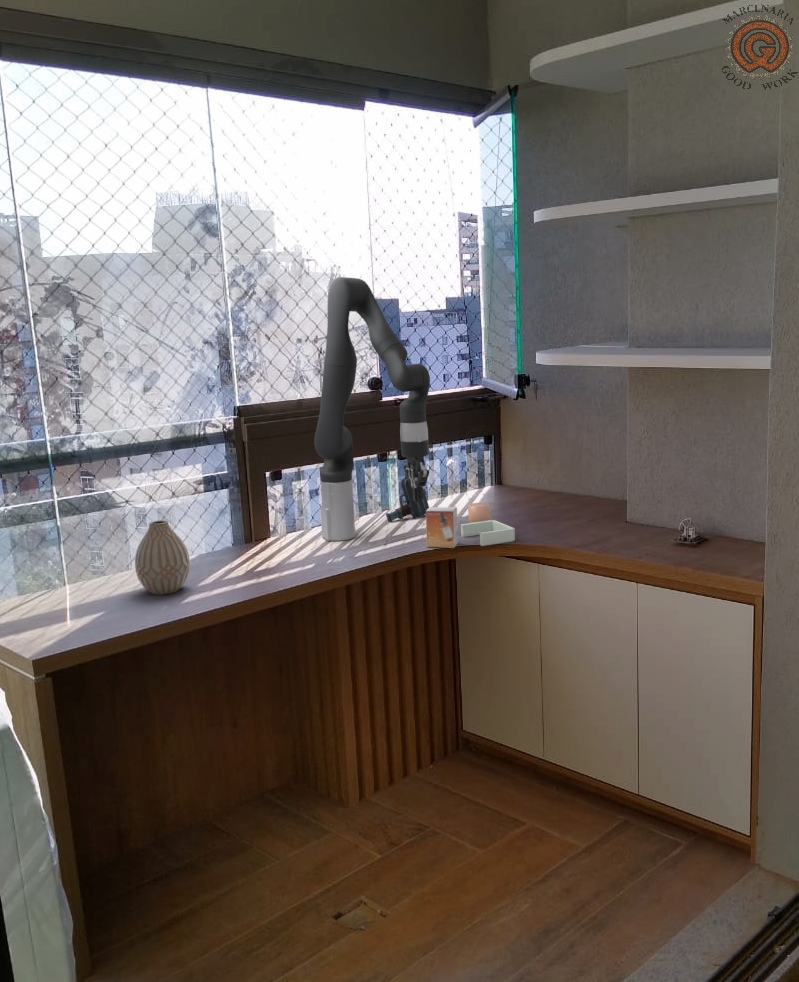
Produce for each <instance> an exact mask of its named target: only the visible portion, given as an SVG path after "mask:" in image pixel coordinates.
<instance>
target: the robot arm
mask: <svg viewBox="0 0 799 982" xmlns="http://www.w3.org/2000/svg"><path fill="white" fill-rule="evenodd" d="M371 289H372V288H370V286H369V285H368V283H367V282H366V281H365V280H364V279H361V278H359V277H358V278H357V277H347V276H345V277H344V276H339V277H338V276H337V277H335V278H334V279H333V280H332V281H331V282H330V284H329V288H328V291H327V292H328V293H327V326H326V327H327V328H326V330H327V331H326V344H325V353H324V354H325V355H324V360H323V361H324V362H323V363H324V364H323V369H322V370H323V373H322V383H321V385H322V387H321V395H320V409H319V415H318V419H317V425H316V430H315V434H314V439H313V440H314V443H313V444H314V449H315V451H316V453H317V454H318V456H319V457H320V458H321V459H324V460H323V466H322V468H321V469H320V473H319V476H320V494H321V505H320V506H319V507H320V509H319V510H320V511H319V512H320V523H321V524H320V525H321V536H322V537H321V538H323V539H325V541H327V542H332V541H334V542H337V541H339V542H341V541H348V540H350V539H354V538H356V525H355V522H356V520H355V509H354V508H355V507H354V506H355V505H354V490H353V471H354V466H355V465H354V463H355V462H354V441H353V435H352V433H351V432H350V430H349V428H348V427H346V426H344V420H345V419H344V418H345V414H346V413H345V412H346V409H347V405H348V403H349V400H350V398H351V396H352V392H353V389H354V386H355V382H356V376H357V366H358V363H357V362H358V360H357V354H356V350H355V347H354V345H353V342H352V340H351V337H350V331H349V323H350V322H349V320H350V312H355V313H356V314H358V315H359V316H360V317H361V318H362V319H363V321H364V322H365V324H366V326H367V328H368V334H369V341H370V344H371V346H372V347H373V349H374V351H375V352H376V354H377V355H378V356H379V358H380V360H381V361H382V362H383V363H384V366H385V368H386V371H387V374H388V377H389V380H390V382H391V384H392V386H393V387H394V388H395V389H396V390H398V391H399V392H402V393H407V392H409V393H408V397H407V399H405V400H403V401H402V402H401V403H400V404H399V419H400V426H399V427H400V429H399V433H400V449H401V456H402V457H403V458H406V464H404V465H403V470H404V473H405V474H406V476H405V477H407V480H408V483H409V484H411V487H412V488H413V500H414V501H416V502H419V501H422V500H423V497H422V487H423V488H424V487H426V485H427V482H428V479H429V475H430V470H429V469H426V462H425V457H427V456H429V454H430V447H429V429H428V428H429V427H428V424H427V410H426V406H427V402H428V401H427V400H428V396H429V390H430V384H431V377H430V371H429V370H428V368H427V367H426V366H425V365H423V364H421V363H414V364H412V363H411V364H406V363H405V361H406V360H407V358H408V351H407V349H406V347H405V346H404V344H403V343H402V342H401V340H400V339H399V337H398V336H397V335H396V333H395V332H394V331H393V329H392V327H391V326H390V324H389V323H388V321H387V319H386V317H385V316H384V315H385V314H383V311H382V310H381V308H380V305H379V304H378V302H377V300H376V298H375V295H374V292H373V291H372V290H371ZM405 474H404V475H405Z"/></svg>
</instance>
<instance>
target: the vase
mask: <svg viewBox="0 0 799 982" xmlns="http://www.w3.org/2000/svg"><path fill="white" fill-rule="evenodd" d="M134 569H135V574H136V577H137V580H138V581H139V583H140V584H141V585H142V587H144V589H145V590H147V591H149V593H151V594H153V595H157V596H158V595H159V596H160V595H161V596H162V595H169V594H174V593H176V592H178V591H179V590H180V589H181V588H182V587H183V586H184V585H185V583H186V582H187V579H188V578H189V574H190V569H191V560H190V556H189V550H188V548H187V546H186V544H185V543H184V541H183V540H182V538H180V536H179V535H178V534H177V533H176V532H175V531H174V530H173V529H172V528H171V526H170V524H169V521H168V520H166V519H165V520H164V519H161V520H160V519H159V520H153V521H150V522H149V523H148V528H147V531H146V533H145V534H144V536H143V537H142V539H141V540H140V542H139V543H138V546H137V549H136V552H135V557H134Z"/></svg>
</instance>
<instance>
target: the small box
mask: <svg viewBox="0 0 799 982" xmlns="http://www.w3.org/2000/svg"><path fill="white" fill-rule="evenodd" d="M425 528H426V529H425V534H426V536H425V537H426V547H427V548H448V549H449V548H450V549H454V548H455V547H456V546H457V544H458V543H459V539H458V538H459V537H458V536H459V535H458V532H459V531H458V508H457V506H453V507H452V506H449V507H447V506H446V507H443V506H442V507H441V506H438V507H437V506H436V507H435V506H429V508H428V509H427V510H426V514H425Z"/></svg>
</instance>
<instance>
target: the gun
mask: <svg viewBox="0 0 799 982" xmlns="http://www.w3.org/2000/svg"><path fill="white" fill-rule="evenodd" d="M404 475H405V477H403V478H402V479H400V487H401V489H402V492H403V493H402V494H401V495H400V496H399V499H398V500H399V501H398V502H399V504H400V506H399V507H397V508H395V509H394V511H391V512H390V513H389V512H386V514H385V517H386V520H387V522H388V523H393V521H394V520H397V519H398V520H404V518H405V517H407V516H411V517H412V518H415V519H418V518H420V517H423V516H426V510H427V509H428V508H429V507H430V505H429V503H428V500H427V496H426V495H427V490H426V489H425V488H424V486H423V487H422V497H423V500H422V501H419V502H416V501H414V500H413V488H412V487H411V484H409V483H408V480H407V477H406V474H404ZM403 497H404V499H405V501H404V500H403ZM403 503H405V505H404V504H403Z"/></svg>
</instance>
